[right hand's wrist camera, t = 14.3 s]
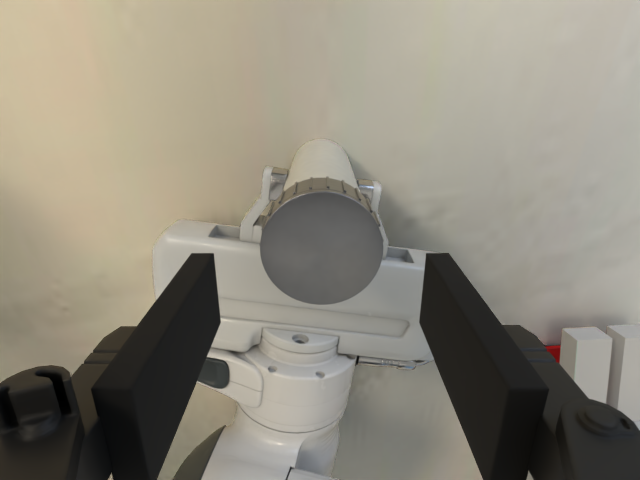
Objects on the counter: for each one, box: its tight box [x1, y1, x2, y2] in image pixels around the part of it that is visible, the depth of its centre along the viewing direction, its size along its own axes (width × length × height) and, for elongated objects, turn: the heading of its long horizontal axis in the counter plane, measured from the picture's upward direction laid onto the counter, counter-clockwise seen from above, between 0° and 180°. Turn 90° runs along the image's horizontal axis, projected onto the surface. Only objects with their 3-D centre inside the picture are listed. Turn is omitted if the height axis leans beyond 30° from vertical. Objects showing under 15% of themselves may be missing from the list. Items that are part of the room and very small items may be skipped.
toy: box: [527, 324, 640, 480], centre depth 37 cm, size 12×13×30 cm
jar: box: [283, 139, 360, 192], centre depth 25 cm, size 4×4×16 cm
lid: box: [259, 176, 384, 305], centre depth 18 cm, size 5×5×2 cm
